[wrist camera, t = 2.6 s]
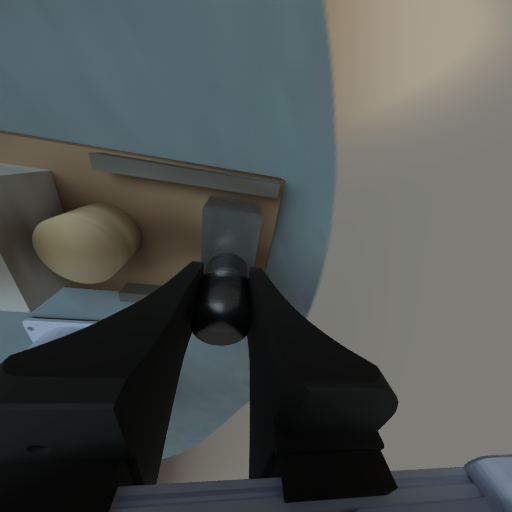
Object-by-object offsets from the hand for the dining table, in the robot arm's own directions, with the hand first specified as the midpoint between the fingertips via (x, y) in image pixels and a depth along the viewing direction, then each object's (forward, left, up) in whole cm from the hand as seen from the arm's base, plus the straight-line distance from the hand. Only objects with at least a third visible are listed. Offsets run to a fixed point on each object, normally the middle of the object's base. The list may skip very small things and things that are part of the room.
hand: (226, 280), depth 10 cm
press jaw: (0, 0, -4) cm, 4 cm away
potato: (0, +8, -4) cm, 9 cm away
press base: (0, +6, -6) cm, 8 cm away
